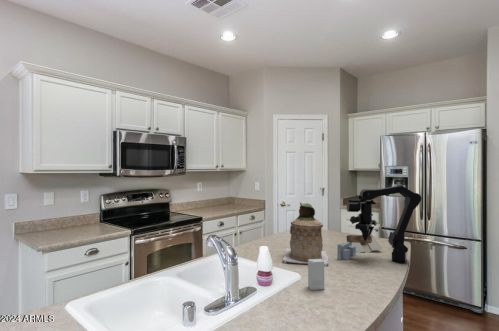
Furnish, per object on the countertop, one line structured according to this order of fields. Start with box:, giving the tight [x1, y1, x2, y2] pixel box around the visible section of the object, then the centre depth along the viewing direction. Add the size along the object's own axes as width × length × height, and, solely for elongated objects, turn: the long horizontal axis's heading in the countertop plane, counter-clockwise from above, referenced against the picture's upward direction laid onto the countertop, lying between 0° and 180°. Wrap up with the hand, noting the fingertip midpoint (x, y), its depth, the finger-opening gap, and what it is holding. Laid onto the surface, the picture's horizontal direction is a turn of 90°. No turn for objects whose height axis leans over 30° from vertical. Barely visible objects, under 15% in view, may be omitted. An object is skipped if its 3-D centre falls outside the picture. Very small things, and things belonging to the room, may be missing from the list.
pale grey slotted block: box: [352, 233, 383, 254], centre depth 190 cm, size 16×9×15 cm
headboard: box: [336, 241, 357, 261], centre depth 174 cm, size 5×18×9 cm, turn 141°
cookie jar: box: [282, 201, 330, 267], centre depth 171 cm, size 25×25×32 cm
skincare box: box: [307, 259, 325, 291], centre depth 129 cm, size 6×4×12 cm
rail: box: [346, 234, 372, 243], centre depth 170 cm, size 13×4×4 cm, turn 52°
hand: (366, 239), depth 167 cm, fingers closed on rail, 3 cm apart
